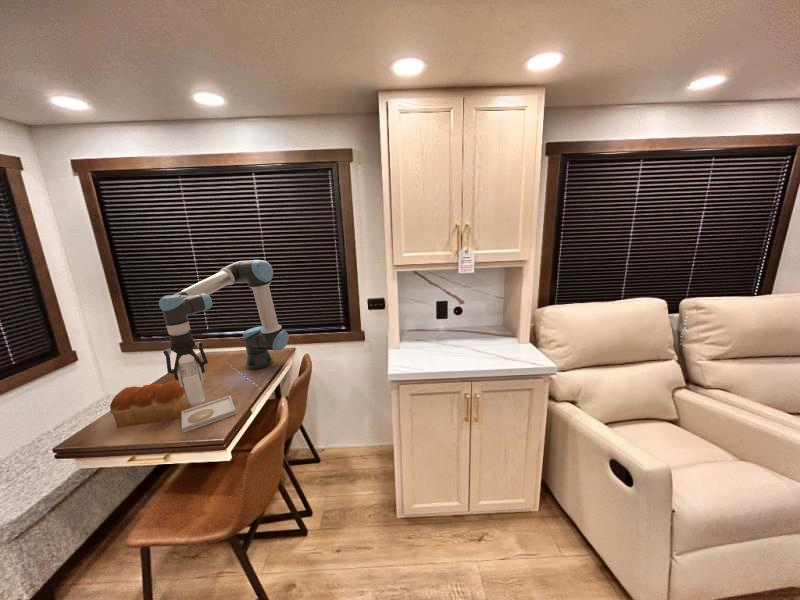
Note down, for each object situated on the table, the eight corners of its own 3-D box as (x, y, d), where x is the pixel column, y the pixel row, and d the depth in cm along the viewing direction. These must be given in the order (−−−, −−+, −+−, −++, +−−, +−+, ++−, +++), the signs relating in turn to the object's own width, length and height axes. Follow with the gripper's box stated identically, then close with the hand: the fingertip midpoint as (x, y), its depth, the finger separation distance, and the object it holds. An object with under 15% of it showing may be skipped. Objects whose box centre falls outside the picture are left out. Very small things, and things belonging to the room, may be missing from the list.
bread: (115, 428, 132) (105, 398, 129) (134, 412, 144) (125, 384, 141) (178, 418, 136) (170, 389, 133) (191, 403, 148) (184, 376, 145)
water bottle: (207, 401, 133) (194, 348, 127) (188, 407, 129) (174, 353, 123) (205, 395, 138) (192, 343, 132) (187, 401, 134) (173, 348, 128)
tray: (231, 399, 150) (230, 395, 149) (236, 413, 137) (235, 409, 136) (182, 415, 139) (181, 411, 138) (182, 432, 126) (181, 428, 125)
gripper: (206, 325, 134) (217, 372, 140) (150, 336, 123) (164, 387, 129) (208, 329, 128) (219, 378, 134) (149, 341, 117) (163, 394, 123)
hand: (192, 382), depth 131 cm, fingers closed on water bottle, 7 cm apart
